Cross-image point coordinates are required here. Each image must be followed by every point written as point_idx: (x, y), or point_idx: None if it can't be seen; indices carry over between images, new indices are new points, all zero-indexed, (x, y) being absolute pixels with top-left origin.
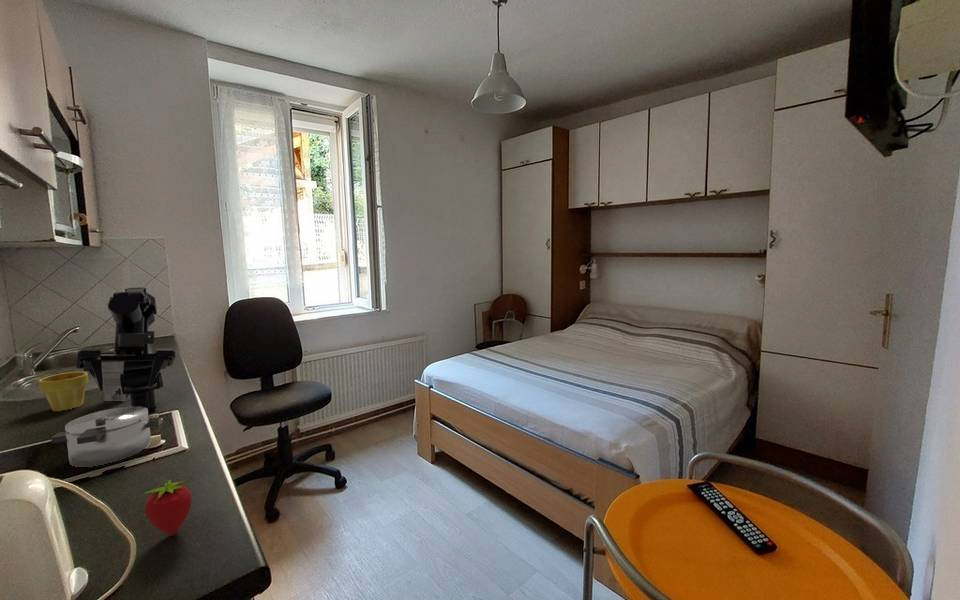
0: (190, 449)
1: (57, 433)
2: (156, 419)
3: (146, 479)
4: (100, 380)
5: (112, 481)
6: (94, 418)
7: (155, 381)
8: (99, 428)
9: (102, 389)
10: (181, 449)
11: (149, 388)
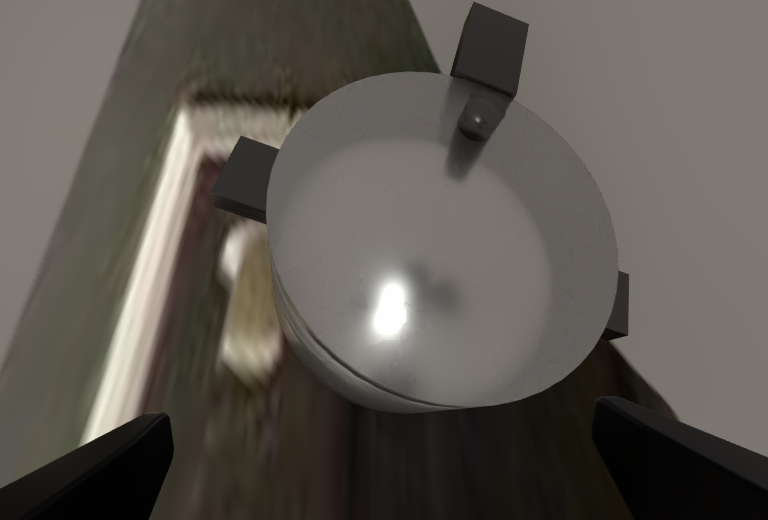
0: (180, 92)
1: (624, 321)
2: (241, 169)
3: (328, 7)
4: (709, 444)
5: (396, 59)
6: (517, 255)
7: None
8: (473, 67)
9: (599, 402)
10: (204, 115)
11: (171, 435)
